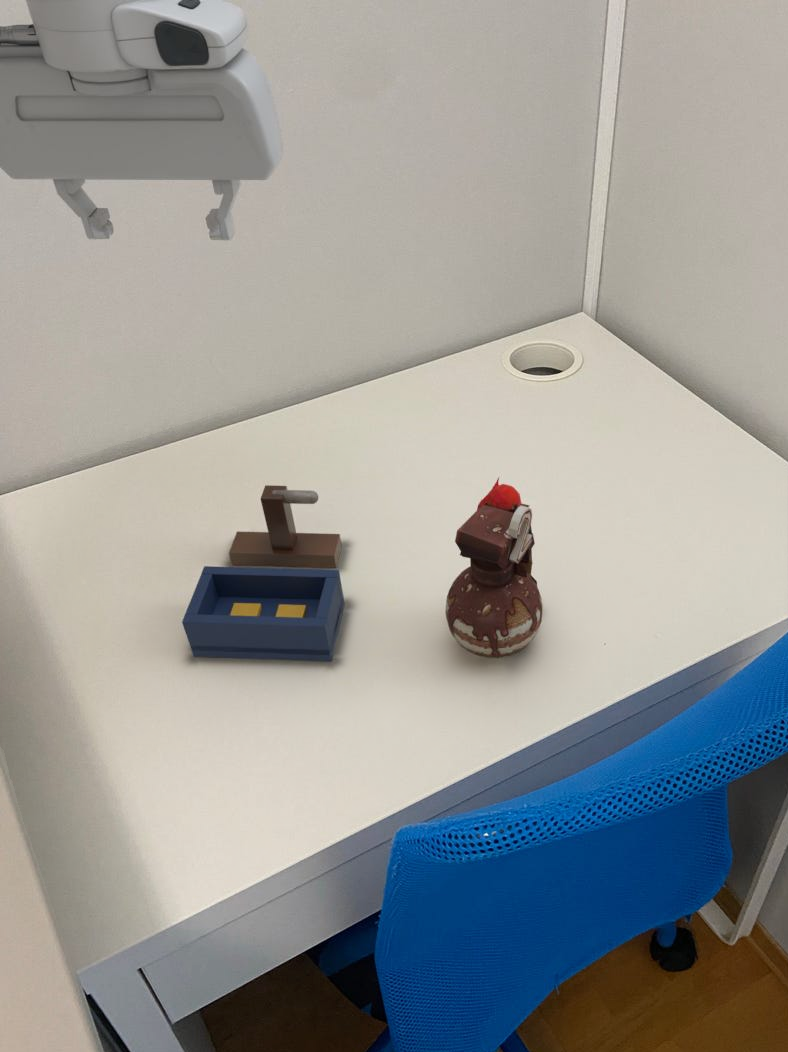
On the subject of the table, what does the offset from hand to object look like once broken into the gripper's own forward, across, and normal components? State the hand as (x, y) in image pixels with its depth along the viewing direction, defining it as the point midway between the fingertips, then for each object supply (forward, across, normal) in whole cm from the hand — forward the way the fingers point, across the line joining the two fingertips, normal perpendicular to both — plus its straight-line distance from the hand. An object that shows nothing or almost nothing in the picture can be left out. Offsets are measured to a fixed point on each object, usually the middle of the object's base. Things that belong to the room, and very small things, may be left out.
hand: (162, 237), depth 71 cm
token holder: (+29, +6, -13) cm, 32 cm away
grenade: (+29, +26, -13) cm, 41 cm away
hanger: (+29, +5, -3) cm, 30 cm away
